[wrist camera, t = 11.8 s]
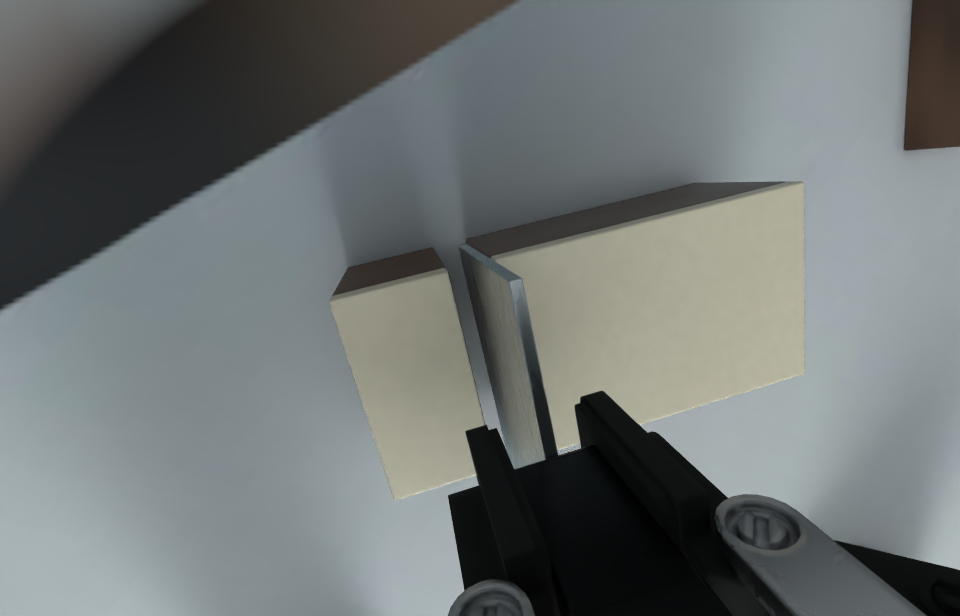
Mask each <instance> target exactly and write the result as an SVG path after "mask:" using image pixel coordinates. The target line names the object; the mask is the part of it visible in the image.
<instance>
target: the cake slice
mask: <svg viewBox="0 0 960 616" xmlns="http://www.w3.org/2000/svg"><path fill="white" fill-rule="evenodd" d="M329 304H330V307H331V310H332V313H333V316H334V319H335V322H336V325H337V328H338V331H339V334H340V337H341V340H342V343H343V346H344V349H345V352H346V355H347V358H348V361H349V365H350V368H351V371H352V374H353V377H354V380H355V383H356V386H357V389H358V392H359V395H360V398H361V401H362V404H363V407H364V410H365V413H366V416H367V419H368V422H369V425H370V428H371V431H372V434H373V437H374V440H375V443H376V446H377V450H378V453H379V456H380V459H381V462H382V465H383V468H384V471H385V474H386V477H387V480H388V483H389V486H390V489H391V492H392V495H393V498H394V500H398V499H401V498H405V497H408V496H411V495H414V494H418V493H421V492H424V491H427V490H431V489H434V488H437V487H440V486H444V485H447V484H450V483H453V482H457V481H460V480H463V479H466V478H470V477H473V476H476V472H475V468H474V464H473V460H472V456H471V452H470V449H469V445H468V441H467V437H466V433H465V431H467V430H470V429H473V428H477V427H480V426H484V425H485V422H484V418H483V413H482V409H481V405H480V401H479V397H478V393H477V389H476V385H475V381H474V376H473V372H472V368H471V364H470V360H469V356H468V352H467V348H466V343H465V339H464V335H463V331H462V327H461V323H460V319H459V315H458V311H457V306H456V302H455V298H454V294H453V290H452V286H451V282H450V278H449V273H448V271H447V270H446V268H445V267H444V265H443V263H442V262H441V260H440V259H439V257H438V256H437V254H436V253H435V251H434V249H433V248H427V249H423V250H419V251H415V252H411V253H407V254H403V255H399V256H395V257H391V258H387V259H382V260H378V261H374V262H370V263H366V264H362V265H358V266H354V267H350V268H348V269H347V271H346V273H345V274H344V276H343V278H342V280H341V281H340V283H339V285H338V287H337V288H336V290H335V292H334V294H333V295H332V297H331V299H330V301H329Z"/></svg>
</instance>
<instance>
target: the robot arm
mask: <svg viewBox="0 0 960 616" xmlns="http://www.w3.org/2000/svg"><path fill="white" fill-rule="evenodd" d="M575 415H576V420H577V426H578V432H579V438H580V443H581V448H584V447H587V446H590V445H595V446H596V447H597V449H598V450H599V451H600V452H601V454H602V455H603V456H604V457H605V459H606V460H607V461H608V462H609V463H610V465H611V466H612V467H613V468H614V470H615V471H616V472H617V473H618V475H619V476H620V477H621V478H622V479H623V481H624V482H625V483H626V484H627V486H628V487H629V488H630V489H631V491H632V492H633V493H634V494H635V496H636V497H637V498H638V499H639V500H640V502H641V503H642V504H643V505H644V507H645V508H646V509H647V510H648V512H649V513H650V514H651V515H652V517H653V518H654V519H655V520H656V521H657V523H658V524H659V525H660V526H661V528H662V529H663V530H664V531H665V533H667V534H668V536H669V537H670V538H671V539H672V541H673V542H674V543H675V544H676V545H677V547H678V548H679V549H680V550H681V552H682V553H683V554H684V555H685V557H686V558H687V559H688V560H689V561H690V563H691V564H692V565H693V566H694V568H695V569H696V570H697V571H698V573H699V574H700V575H701V576H702V577H703V579H704V580H705V581H706V582H707V584H708V585H709V586H710V587H711V589H712V590H713V591H714V592H715V593H716V595H717V596H718V597H719V598H720V600H721V601H722V602H723V603H724V604H725V606H726V607H727V608H728V609H729V611H730V612H731V613H732V614H733V616H960V570H957V569H953V568H949V567H944V566H940V565H936V564H932V563H928V562H923V561H919V560H915V559H911V558H907V557H902V556H898V555H894V554H890V553H886V552H881V551H877V550H873V549H869V548H865V547H860V546H856V545H852V544H848V543H844V542H839V541H835V540H833V539H831V538H830V537H829V536H828V535H826V534H825V533H824V532H823V531H822V530H820V529H819V528H818V527H817V526H815V525H814V524H813V523H812V522H810V521H809V520H808V519H807V518H805V517H804V516H803V515H802V514H801V513H799V512H798V511H797V510H795V509H794V508H792V507H790V506H789V505H787V504H786V503H783V502H781V501H778V500H776V499H774V498H770V497H766V496H761V495H748V494H743V495H738V496H733V497H730V498H727V497H726V496H725V495H724V494H723V493H722V492H721V491H720V490H719V489H718V488H717V487H715V486H714V485H713V484H712V483H711V482H710V481H709V480H708V479H707V478H706V477H705V476H704V475H702V474H701V473H700V472H699V471H698V470H697V469H696V468H695V467H694V466H693V465H692V464H691V463H690V462H688V461H687V460H686V459H685V458H684V457H683V456H682V455H681V454H680V453H679V452H678V451H677V450H675V449H674V448H673V447H672V446H671V445H670V444H669V443H668V442H667V441H666V440H665V439H664V438H662V437H661V436H660V435H659V434H658V433H656V432H649V433H647V432H646V431H645V430H644V429H643V428H642V427H641V426H640V425H639V424H638V423H636V422H635V421H634V420H633V419H632V418H631V417H630V416H629V415H628V414H627V413H626V412H625V411H624V410H623V409H622V408H621V407H620V406H619V405H618V404H617V403H616V402H615V401H614V400H613V399H612V398H611V397H609V396H608V395H607V394H606V393H605V392H604V391H598V392H595V393H591V394H588V395H585V396H581V398H580V403H578V404H575ZM465 433H466V437H467V441H468V445H469V449H470V452H471V456H472V460H473V464H474V468H475V472H476V476H477V479H478V483H479V486H476V487H473V488H470V489H467V490H463V491H460V492H457V493H454V494H451V495H448V498H449V504H450V510H451V516H452V521H453V527H454V533H455V538H456V544H457V550H458V555H459V561H460V567H461V572H462V578H463V584H464V590H465V591H464V592H463V593H462V594H461V595H459V596H458V598H457V599H456V600H455V602H454V603H453V605H452V606H451V608H450V611H449V614H448V616H560V613H559V609H558V604H557V600H556V595H555V590H554V586H553V581H552V577H551V576H552V572H553V571H552V566H551V562H550V557H549V554H548V550H547V547H546V544H545V541H544V538H543V535H542V533H541V530H540V528H539V525H538V523H537V521H536V519H535V516H534V514H533V512H532V509H531V507H530V505H529V502H528V500H527V498H526V495H525V493H524V491H523V488H522V486H521V484H520V481H519V479H518V477H517V474H516V472H515V470H514V467H513V465H512V463H511V460H510V458H509V456H508V453H507V451H506V449H505V446H504V444H503V442H502V440H501V437H500V435H499V433H498V430H497V428H495V429H491V430H488V427H487V425H484V426H480V427H477V428H473V429H470V430H467V431H465Z"/></svg>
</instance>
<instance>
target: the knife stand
mask: <svg viewBox="0 0 960 616" xmlns="http://www.w3.org/2000/svg"><path fill="white" fill-rule="evenodd" d="M946 147H960V0H913V14H912V31H911V48H910V65H909V82H908V99H907V116H906V133H905V150H919V149H932V148H946Z"/></svg>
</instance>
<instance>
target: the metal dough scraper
mask: <svg viewBox="0 0 960 616" xmlns="http://www.w3.org/2000/svg"><path fill="white" fill-rule="evenodd" d="M458 247H459V251H460V256H461V260H462V264H463V268H464V273H465V277H466V281H467V285H468V289H469V294H470V298H471V302H472V306H473V311H474V315H475V319H476V323H477V328H478V332H479V336H480V340H481V345H482V349H483V353H484V357H485V362H486V366H487V370H488V374H489V379H490V383H491V387H492V391H493V396H494V400H495V404H496V408H497V412H498V417H499V421H500V425H501V429H502V434H503V438H504V442H505V446H506V451H507V453H508V456H509V458H510V460H511V463H512V465H513V467H514V470H515V472H516V474H517V477H518V479H519V481H520V484H521V486H522V488H523V491H524V493H525V495H526V498H527V500H528V502H529V505H530V507H531V509H532V512H533V514H534V516H535V519H536V521H537V523H538V525H539V528H540V530H541V533H542V535H543V538H544V541H545V544H546V547H547V550H548V554H549V557H550V562H551V566H552V571H553V572H552V576H551V577H552V581H553V586H554V590H555V595H556V600H557V604H558V609H559V613H560V616H733V614H732V613H731V612H730V611H729V609H728V608H727V607H726V606H725V604H724V603H723V602H722V601H721V600H720V598H719V597H718V596H717V595H716V593H715V592H714V591H713V590H712V589H711V587H710V586H709V585H708V584H707V582H706V581H705V580H704V579H703V577H702V576H701V575H700V574H699V573H698V571H697V570H696V569H695V568H694V566H693V565H692V564H691V563H690V561H689V560H688V559H687V558H686V557H685V555H684V554H683V553H682V552H681V550H680V549H679V548H678V547H677V545H676V544H675V543H674V542H673V541H672V539H671V538H670V537H669V536H668V534H667V533H665V531H664V530H663V529H662V528H661V526H660V525H659V524H658V523H657V521H656V520H655V519H654V518H653V517H652V515H651V514H650V513H649V512H648V510H647V509H646V508H645V507H644V505H643V504H642V503H641V502H640V500H639V499H638V498H637V497H636V496H635V494H634V493H633V492H632V491H631V489H630V488H629V487H628V486H627V484H626V483H625V482H624V481H623V479H622V478H621V477H620V476H619V475H618V473H617V472H616V471H615V470H614V468H613V467H612V466H611V465H610V463H609V462H608V461H607V460H606V459H605V457H604V456H603V455H602V454H601V452H600V451H599V450H598V449H597V447H596V446H595V445H590V446H587V447H584V448H581V449H578V450H574V451H571V452H568V453H565V454H562V455H558V452H557V447H556V442H555V437H554V432H553V427H552V422H551V417H550V412H549V407H548V402H547V397H546V392H545V387H544V382H543V377H542V372H541V367H540V362H539V358H538V353H537V348H536V343H535V338H534V333H533V328H532V323H531V318H530V313H529V308H528V303H527V298H526V293H525V288H524V283H523V279H522V278H521V277H520V276H518V275H516V274H515V273H513V272H511V271H510V270H508V269H506V268H505V267H503V266H501V265H500V264H498V263H497V262H495V261H493V260H492V259H490V258H488V257H487V256H485V255H483V254H482V253H480V252H478V251H477V250H475V249H473V248H472V247H470V246H469V245H467V244H463V245H459V246H458Z"/></svg>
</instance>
